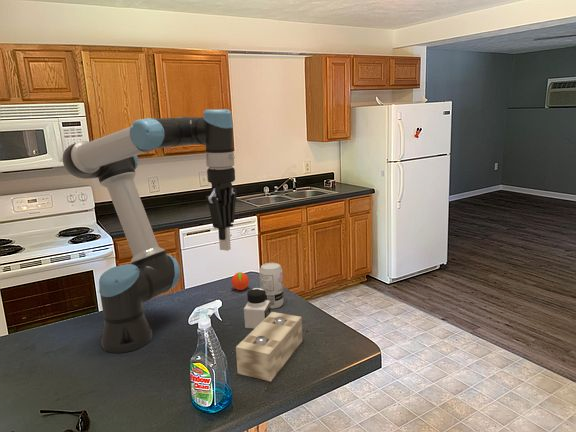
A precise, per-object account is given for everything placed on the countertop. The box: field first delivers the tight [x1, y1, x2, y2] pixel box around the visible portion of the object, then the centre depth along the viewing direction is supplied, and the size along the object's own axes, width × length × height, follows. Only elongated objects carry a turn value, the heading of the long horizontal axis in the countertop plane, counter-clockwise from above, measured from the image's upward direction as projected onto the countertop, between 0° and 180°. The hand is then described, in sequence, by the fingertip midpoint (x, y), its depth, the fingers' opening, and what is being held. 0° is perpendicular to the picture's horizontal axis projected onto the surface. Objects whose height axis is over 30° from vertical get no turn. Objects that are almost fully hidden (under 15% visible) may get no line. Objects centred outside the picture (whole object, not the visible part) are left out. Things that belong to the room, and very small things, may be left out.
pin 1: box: [255, 336, 267, 346], centre depth 117 cm, size 3×3×8 cm
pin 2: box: [275, 317, 285, 325], centre depth 128 cm, size 3×3×8 cm
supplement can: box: [258, 262, 285, 310], centre depth 156 cm, size 8×8×15 cm
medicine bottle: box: [243, 287, 271, 330], centre depth 142 cm, size 7×7×12 cm
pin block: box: [235, 311, 303, 382], centre depth 123 cm, size 10×22×8 cm, turn 156°
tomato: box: [231, 272, 250, 291], centre depth 171 cm, size 8×7×7 cm
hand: (225, 249), depth 123 cm, fingers closed
